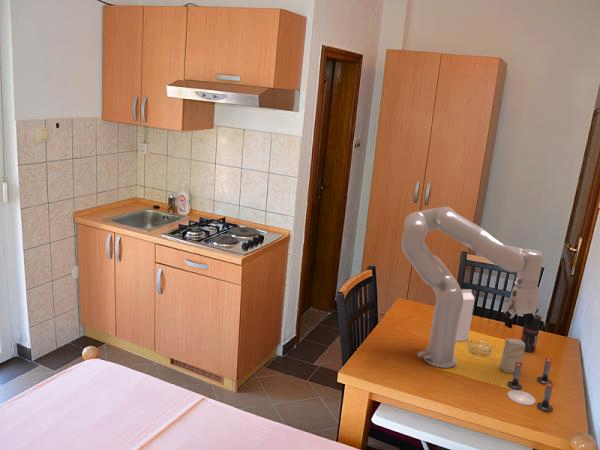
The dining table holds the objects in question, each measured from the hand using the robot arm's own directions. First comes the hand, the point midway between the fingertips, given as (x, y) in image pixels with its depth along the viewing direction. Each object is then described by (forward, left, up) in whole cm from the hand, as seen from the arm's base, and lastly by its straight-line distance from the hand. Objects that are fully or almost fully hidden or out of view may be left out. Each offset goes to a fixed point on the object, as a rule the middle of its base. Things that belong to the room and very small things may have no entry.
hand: (518, 325), depth 196 cm
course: (0, -17, -18) cm, 25 cm away
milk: (-2, +29, -19) cm, 34 cm away
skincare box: (0, 0, -19) cm, 19 cm away
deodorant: (+21, +13, -19) cm, 31 cm away
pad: (-11, -17, -18) cm, 27 cm away
